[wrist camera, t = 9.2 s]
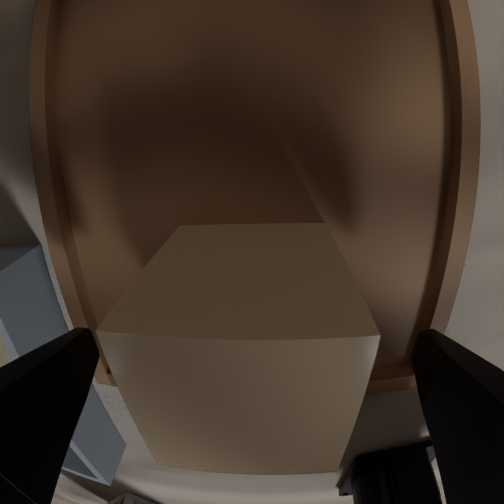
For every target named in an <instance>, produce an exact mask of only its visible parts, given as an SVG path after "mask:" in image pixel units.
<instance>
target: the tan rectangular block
mask: <svg viewBox="0 0 504 504" xmlns="http://www.w3.org/2000/svg"><path fill="white" fill-rule="evenodd" d="M11 358H12V356H11V354H10V353H9V351H8V349H7V347H6V345H5V343H4V340H3V338H2V336H1V334H0V367H2V366H4V365H5V364H7V363H8V361H9V360H10V359H11Z"/></svg>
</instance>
